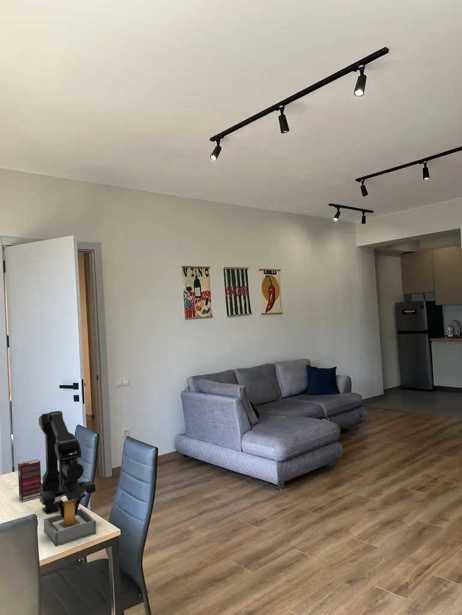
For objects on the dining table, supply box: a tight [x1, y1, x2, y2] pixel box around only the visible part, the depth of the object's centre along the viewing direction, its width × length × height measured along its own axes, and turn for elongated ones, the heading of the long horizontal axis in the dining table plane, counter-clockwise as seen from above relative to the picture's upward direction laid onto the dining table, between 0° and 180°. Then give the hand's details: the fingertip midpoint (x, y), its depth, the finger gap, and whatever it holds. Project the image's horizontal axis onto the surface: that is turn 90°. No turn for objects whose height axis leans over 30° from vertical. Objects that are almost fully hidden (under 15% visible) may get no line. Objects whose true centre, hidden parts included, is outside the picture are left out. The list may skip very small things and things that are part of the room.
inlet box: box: [43, 507, 97, 547], centre depth 163 cm, size 15×14×4 cm
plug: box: [63, 499, 75, 527], centre depth 163 cm, size 4×4×8 cm
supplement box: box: [17, 459, 42, 503], centre depth 198 cm, size 9×5×16 cm, turn 128°
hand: (69, 516), depth 163 cm, fingers closed on plug, 4 cm apart
